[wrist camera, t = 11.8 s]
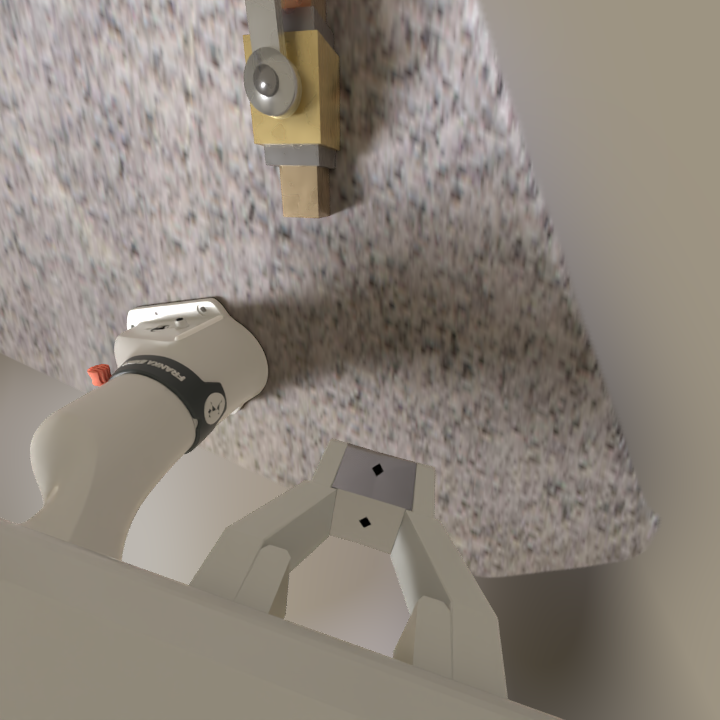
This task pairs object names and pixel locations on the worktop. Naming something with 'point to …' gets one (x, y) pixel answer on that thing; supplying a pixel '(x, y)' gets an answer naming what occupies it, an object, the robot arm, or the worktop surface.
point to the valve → (304, 113)
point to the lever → (270, 62)
